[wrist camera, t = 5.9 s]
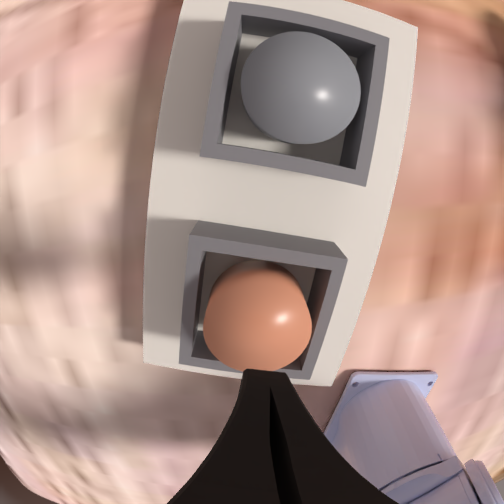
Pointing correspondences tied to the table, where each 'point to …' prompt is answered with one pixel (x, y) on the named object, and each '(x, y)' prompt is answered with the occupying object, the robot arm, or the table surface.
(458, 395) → the table surface
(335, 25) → the button panel
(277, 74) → the grey low dome
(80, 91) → the table surface
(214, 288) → the terracotta button
